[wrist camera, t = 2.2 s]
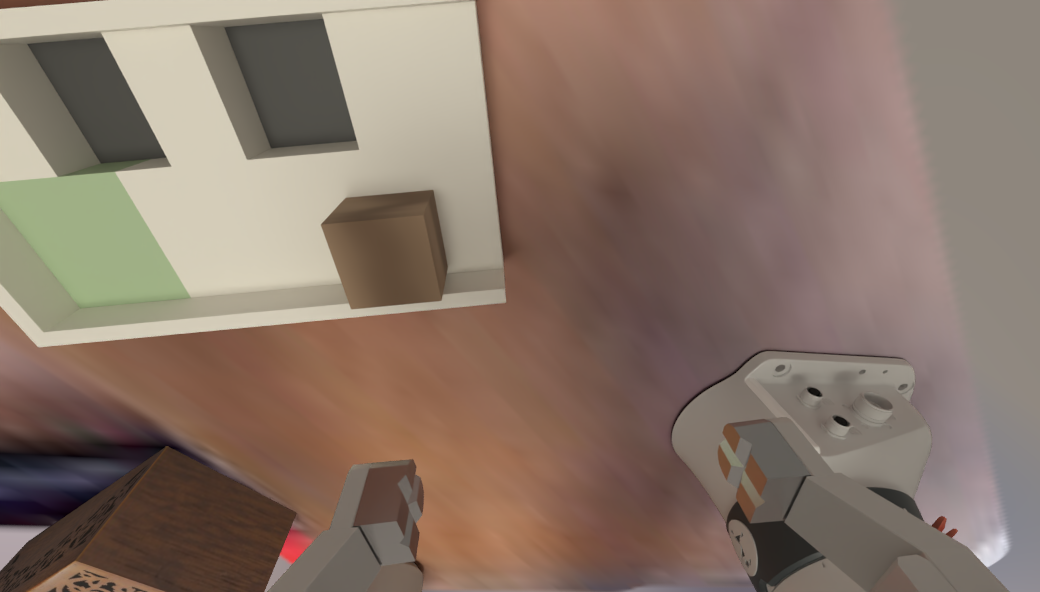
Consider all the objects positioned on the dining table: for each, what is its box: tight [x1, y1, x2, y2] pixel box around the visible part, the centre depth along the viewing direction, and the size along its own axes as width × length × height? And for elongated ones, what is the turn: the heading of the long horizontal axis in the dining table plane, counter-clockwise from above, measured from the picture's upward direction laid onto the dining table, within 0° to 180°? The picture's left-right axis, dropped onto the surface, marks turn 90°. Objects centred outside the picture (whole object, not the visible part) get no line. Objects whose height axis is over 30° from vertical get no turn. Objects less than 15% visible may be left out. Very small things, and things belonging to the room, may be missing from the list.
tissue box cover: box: [0, 446, 296, 592], centre depth 40 cm, size 26×14×10 cm, turn 125°
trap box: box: [0, 0, 506, 347], centre depth 22 cm, size 28×16×6 cm, turn 94°
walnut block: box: [321, 190, 448, 309], centre depth 23 cm, size 5×5×4 cm
